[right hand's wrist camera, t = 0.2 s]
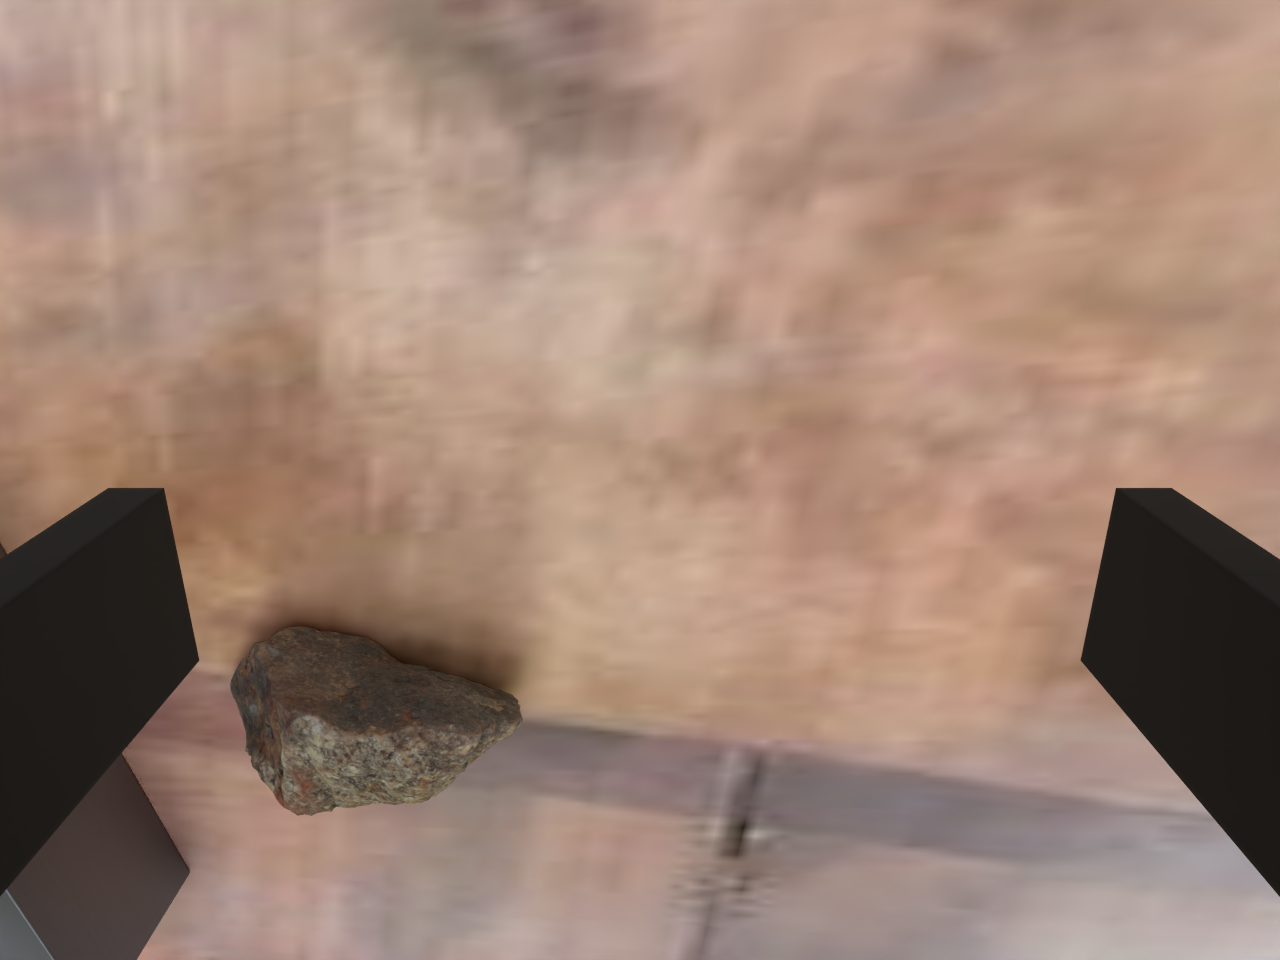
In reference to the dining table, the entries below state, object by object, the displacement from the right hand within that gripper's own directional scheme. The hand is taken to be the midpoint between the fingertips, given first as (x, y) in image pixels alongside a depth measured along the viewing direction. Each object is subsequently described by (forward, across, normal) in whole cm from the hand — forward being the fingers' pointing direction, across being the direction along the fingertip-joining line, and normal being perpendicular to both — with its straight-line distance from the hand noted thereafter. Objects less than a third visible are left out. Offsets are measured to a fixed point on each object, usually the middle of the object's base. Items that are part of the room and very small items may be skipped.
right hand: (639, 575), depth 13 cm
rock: (+28, +14, +21) cm, 37 cm away
